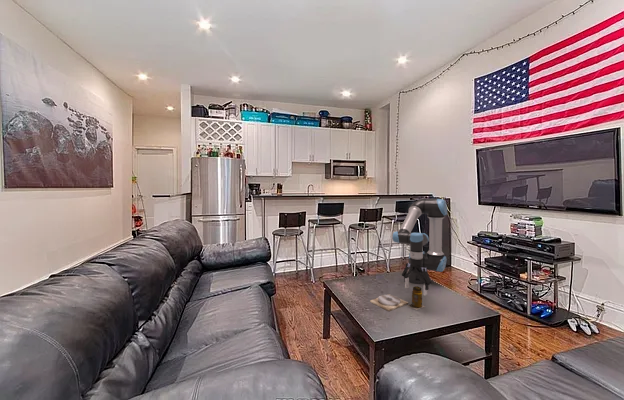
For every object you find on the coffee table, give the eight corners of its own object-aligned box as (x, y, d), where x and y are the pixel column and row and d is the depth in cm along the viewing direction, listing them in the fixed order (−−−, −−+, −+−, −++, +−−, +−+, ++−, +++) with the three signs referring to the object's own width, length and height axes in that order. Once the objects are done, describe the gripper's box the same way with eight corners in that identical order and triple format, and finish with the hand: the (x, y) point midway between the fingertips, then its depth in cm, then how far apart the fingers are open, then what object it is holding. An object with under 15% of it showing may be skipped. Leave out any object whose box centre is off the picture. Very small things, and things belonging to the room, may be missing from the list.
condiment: (425, 306, 177) (425, 288, 176) (416, 310, 172) (416, 291, 171) (415, 302, 183) (415, 284, 182) (406, 306, 178) (406, 287, 177)
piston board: (389, 295, 194) (389, 291, 194) (408, 303, 181) (408, 299, 181) (370, 302, 185) (370, 298, 184) (388, 311, 171) (388, 307, 171)
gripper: (396, 254, 183) (396, 286, 185) (430, 263, 162) (430, 299, 164) (403, 252, 187) (403, 284, 189) (438, 261, 167) (437, 296, 168)
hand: (415, 291), depth 176 cm, fingers open, 13 cm apart
